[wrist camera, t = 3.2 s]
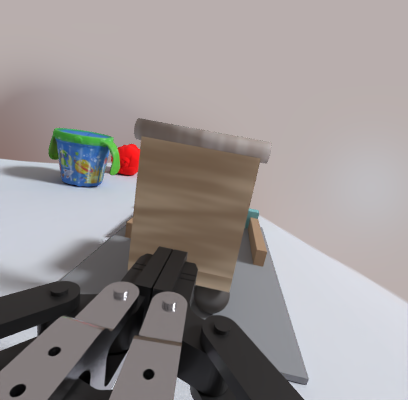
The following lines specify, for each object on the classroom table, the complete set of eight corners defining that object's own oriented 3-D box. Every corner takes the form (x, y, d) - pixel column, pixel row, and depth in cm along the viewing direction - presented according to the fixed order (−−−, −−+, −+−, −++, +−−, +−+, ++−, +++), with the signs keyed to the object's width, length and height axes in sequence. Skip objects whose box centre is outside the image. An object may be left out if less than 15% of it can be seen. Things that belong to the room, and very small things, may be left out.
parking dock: (306, 384, 17) (322, 342, 16) (24, 316, 18) (23, 273, 17) (261, 230, 44) (266, 211, 43) (149, 207, 45) (152, 188, 44)
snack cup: (129, 188, 54) (134, 140, 51) (90, 197, 45) (93, 138, 42) (77, 172, 60) (78, 128, 57) (31, 176, 50) (31, 124, 47)
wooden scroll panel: (227, 327, 20) (272, 142, 16) (117, 301, 20) (135, 117, 16) (229, 259, 30) (256, 139, 27) (157, 244, 31) (173, 124, 27)
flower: (102, 152, 61) (110, 148, 69) (114, 182, 64) (121, 175, 71) (134, 144, 61) (138, 140, 69) (144, 174, 64) (147, 167, 72)
